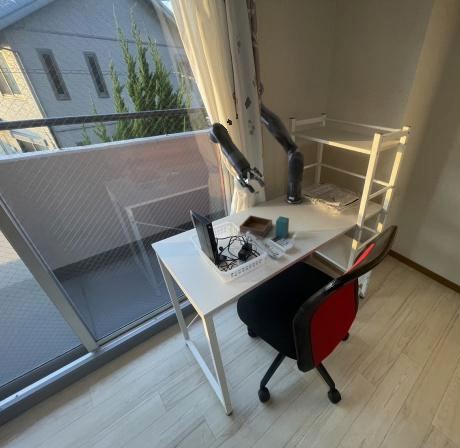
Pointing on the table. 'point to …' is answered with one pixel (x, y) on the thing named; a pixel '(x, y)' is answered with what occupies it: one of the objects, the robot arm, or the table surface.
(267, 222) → the box
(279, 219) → the block
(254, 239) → the caliper
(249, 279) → the table surface
